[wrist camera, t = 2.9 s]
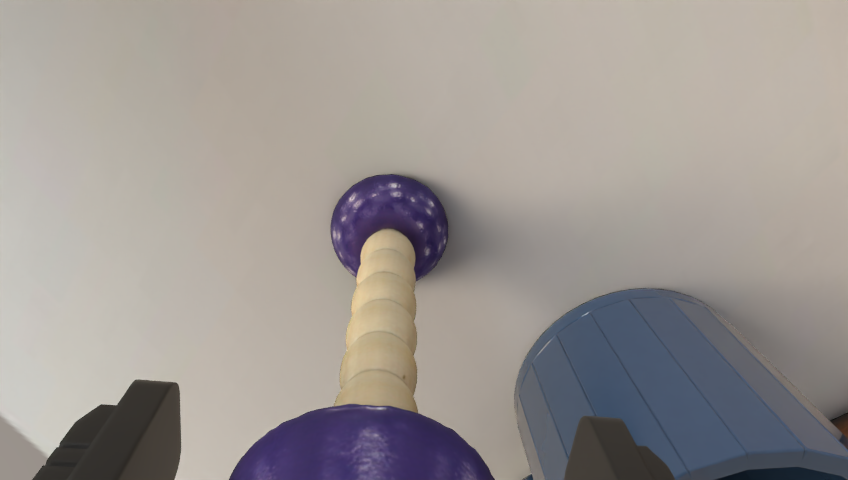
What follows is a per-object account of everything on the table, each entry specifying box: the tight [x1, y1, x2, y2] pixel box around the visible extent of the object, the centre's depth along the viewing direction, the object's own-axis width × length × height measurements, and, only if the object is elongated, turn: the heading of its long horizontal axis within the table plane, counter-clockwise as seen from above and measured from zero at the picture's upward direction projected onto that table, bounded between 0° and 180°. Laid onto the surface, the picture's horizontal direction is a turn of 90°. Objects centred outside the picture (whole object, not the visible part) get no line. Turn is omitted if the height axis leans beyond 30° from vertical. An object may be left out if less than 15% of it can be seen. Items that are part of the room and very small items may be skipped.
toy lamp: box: [229, 174, 495, 480], centre depth 14 cm, size 5×5×17 cm
